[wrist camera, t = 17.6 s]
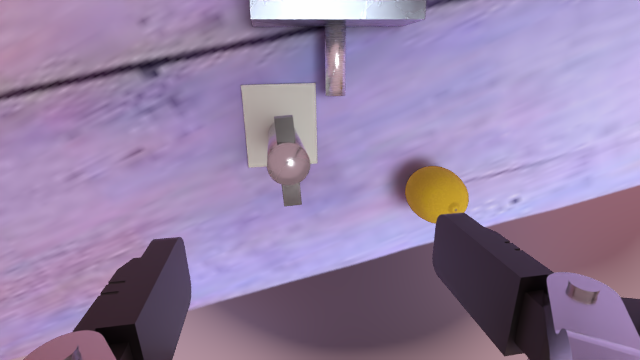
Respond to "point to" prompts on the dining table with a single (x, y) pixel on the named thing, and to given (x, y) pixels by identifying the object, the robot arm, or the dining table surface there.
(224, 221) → the dining table surface
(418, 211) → the lemon
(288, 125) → the chuck key
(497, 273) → the robot arm
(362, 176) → the dining table surface
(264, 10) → the block
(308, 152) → the mat
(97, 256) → the dining table surface
